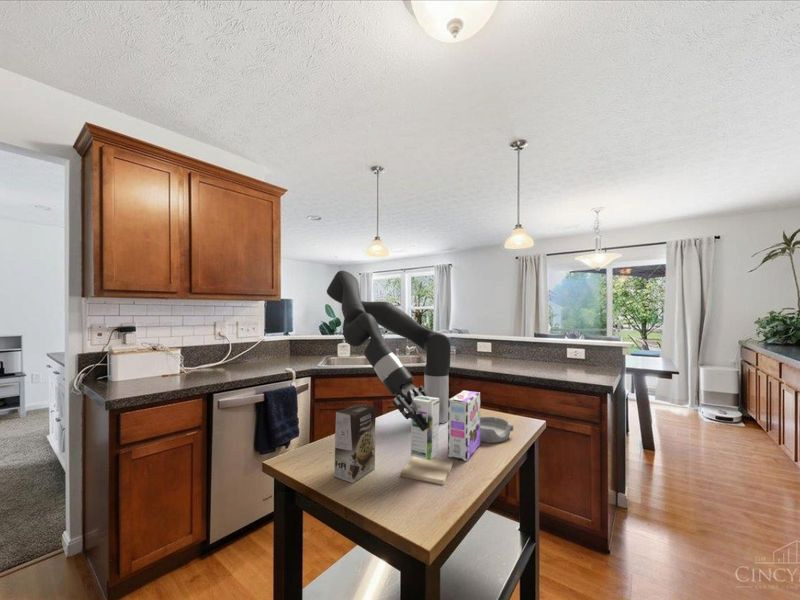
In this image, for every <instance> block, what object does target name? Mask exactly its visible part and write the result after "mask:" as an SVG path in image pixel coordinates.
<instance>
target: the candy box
mask: <svg viewBox="0 0 800 600" xmlns="http://www.w3.org/2000/svg"><path fill="white" fill-rule="evenodd" d="M480 417H481V392H480V391H479V392H478V391H472V390H471V391H470V390H462V391H460V392H459V393H457V394H456V395H453V396H452V397H451V398H449V400H448V421H447V424H448V425H447V457H448V458H452V459H456V460H461V461H464V462H467V461H468V460H470V458H471V457H472V456H473V454H475V452H476V451H477V449H479V447H480V446H481V441H480Z"/></svg>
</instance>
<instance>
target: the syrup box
mask: <svg viewBox="0 0 800 600" xmlns="http://www.w3.org/2000/svg"><path fill="white" fill-rule="evenodd" d="M413 400H414V402H415V403H416V407H417V409H418V411H419V414H421V415H422V416H423V418H424V419H425V420H426V422H427V423H428V425H429V427H428V428H427V429H426V430H424V431H422V430H421V429H420V428H419V426H418V425H417V424H416V422H415V421H414V420H413V419H411V418H410V419H411V420H410V421H411V426H410V431H411V432H410V433H411V434H410V456H411V457H413V456H415V457H419V458H423V459H427V460H431V459H432V458H435V456H436V455H437V454H438V453H439V435H440V433H439V430H440V429H439V428H440V427H439V426H440V425H439V424H440V423H439V398H433V397H427V396H417V397H415V398H414V399H413ZM412 410H413V409H412ZM413 411H414V410H413Z"/></svg>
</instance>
